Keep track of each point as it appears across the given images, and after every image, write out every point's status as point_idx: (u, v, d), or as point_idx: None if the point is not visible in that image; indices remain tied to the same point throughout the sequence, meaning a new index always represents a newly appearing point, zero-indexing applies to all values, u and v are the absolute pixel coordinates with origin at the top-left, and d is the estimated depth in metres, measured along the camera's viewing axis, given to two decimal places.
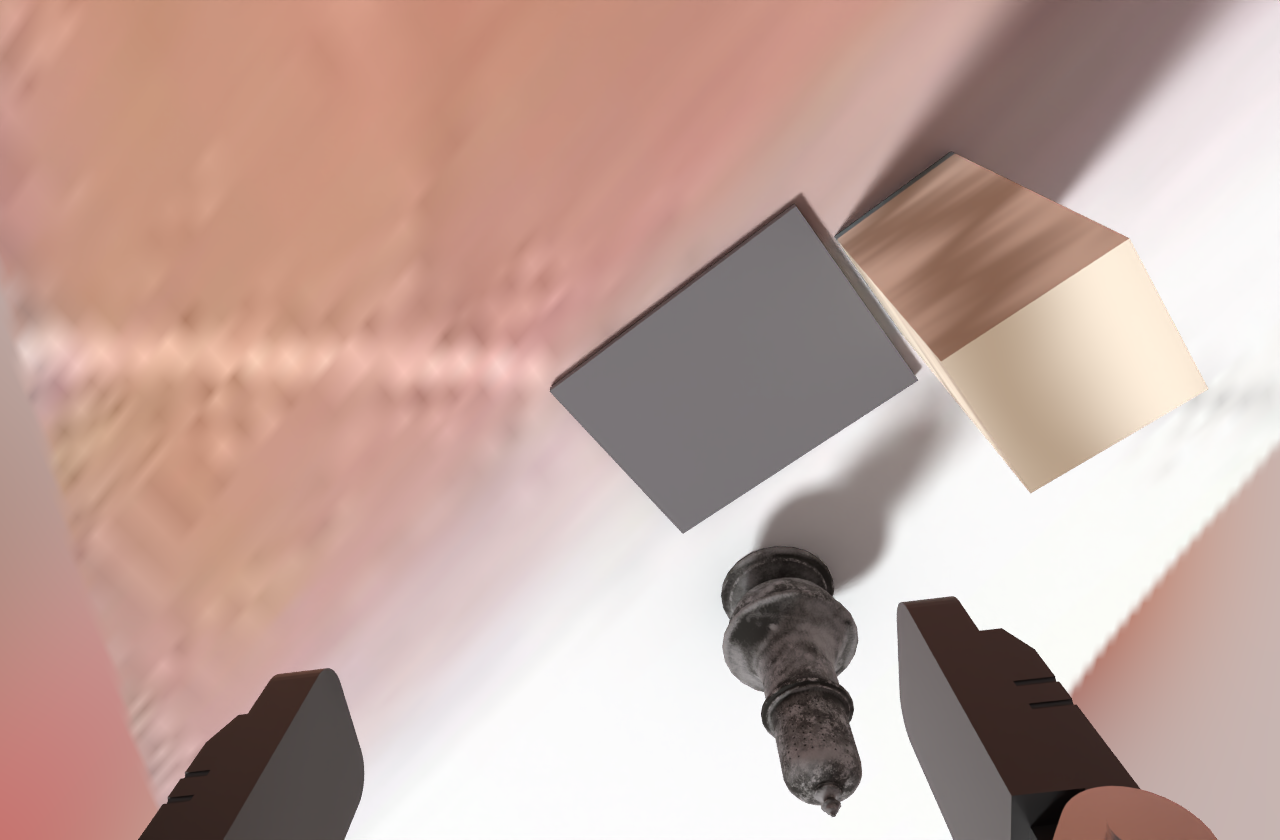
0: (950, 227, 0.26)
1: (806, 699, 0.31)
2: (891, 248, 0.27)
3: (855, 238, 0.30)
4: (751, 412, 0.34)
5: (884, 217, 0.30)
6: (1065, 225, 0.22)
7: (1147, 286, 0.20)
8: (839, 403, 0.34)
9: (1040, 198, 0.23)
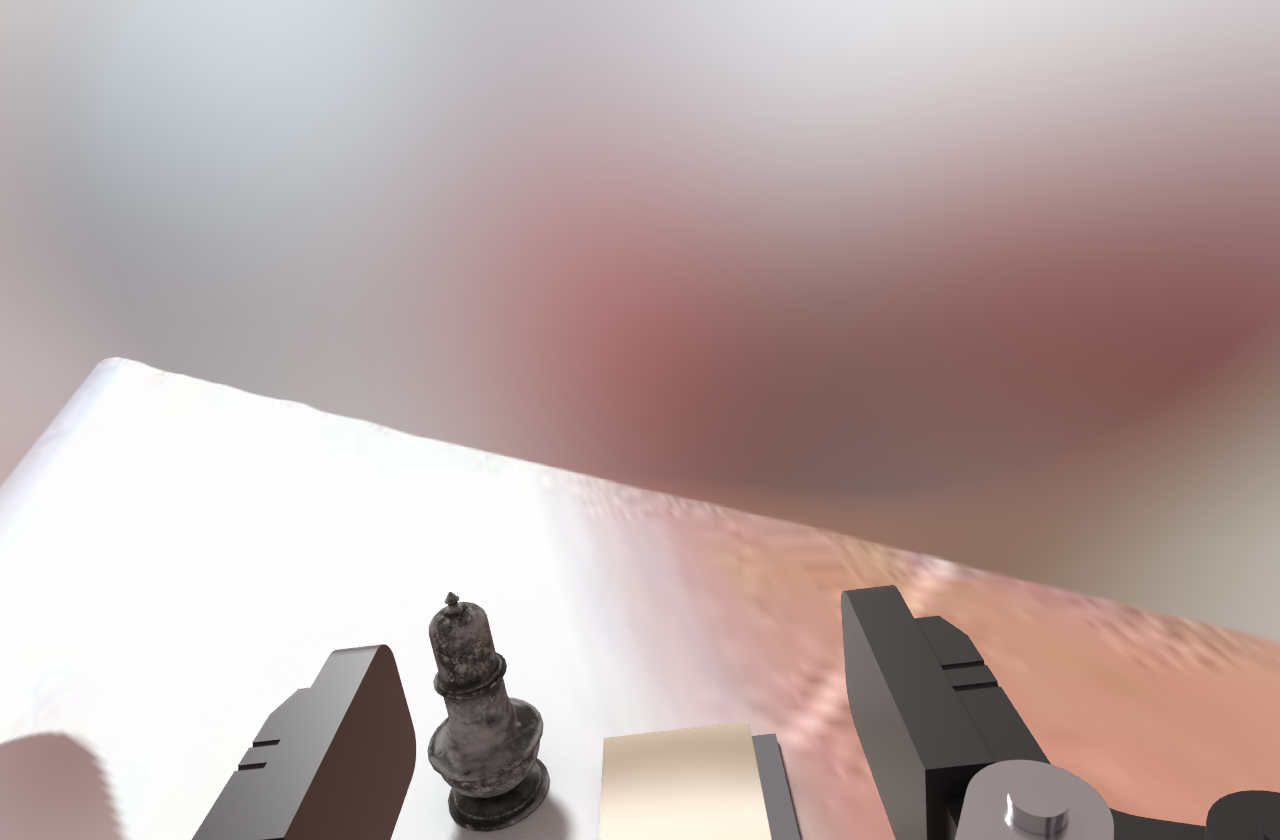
0: None
1: (490, 666, 0.40)
2: None
3: None
4: None
5: None
6: None
7: None
8: None
9: None
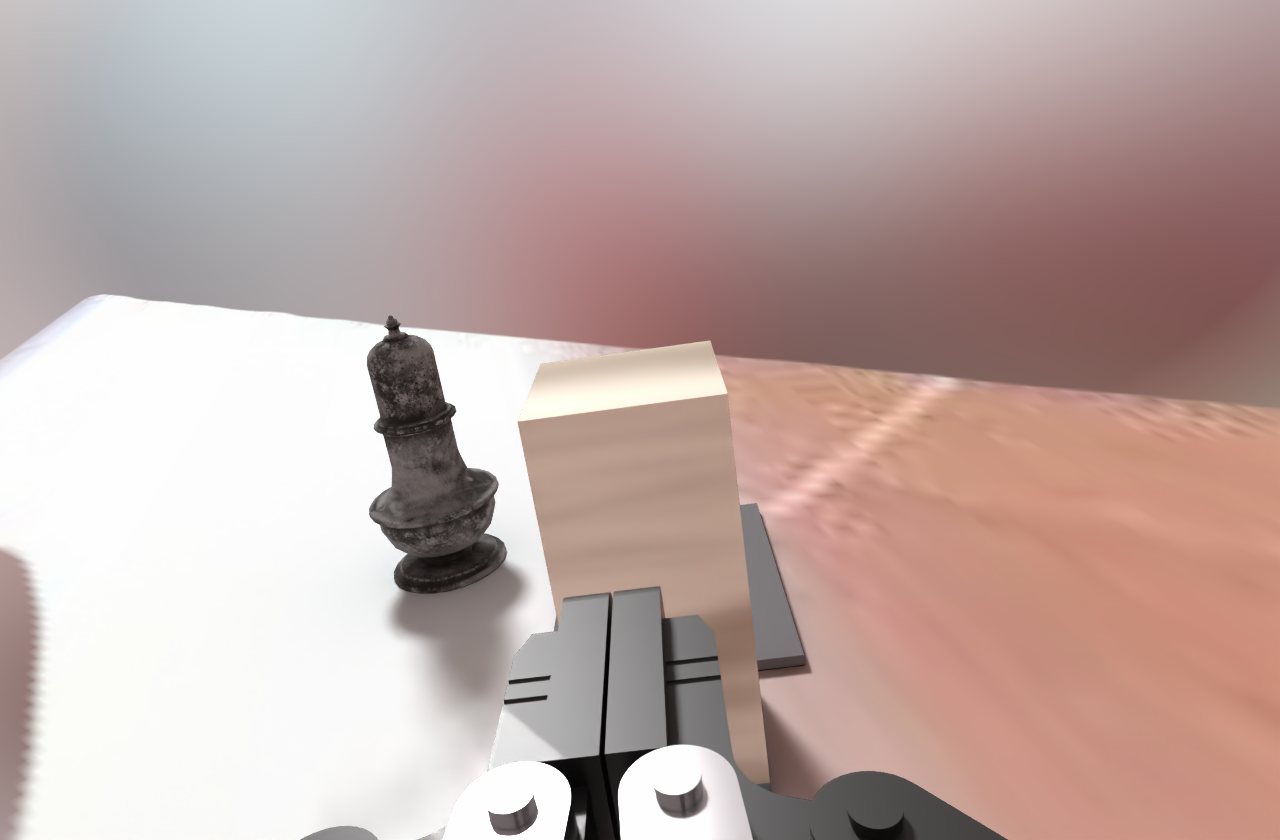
0: None
1: (436, 404, 0.36)
2: None
3: None
4: None
5: None
6: None
7: (669, 399, 0.20)
8: None
9: (745, 559, 0.21)
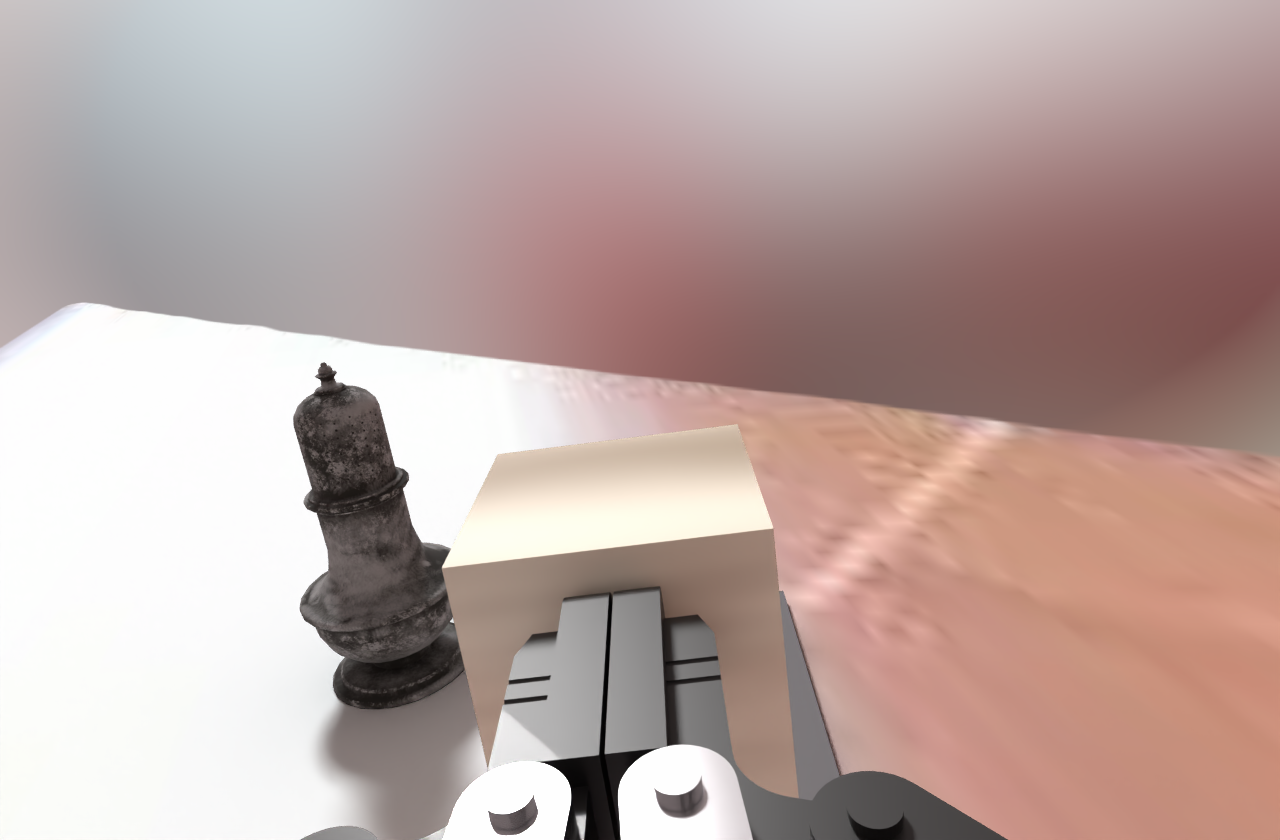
0: None
1: (381, 473, 0.29)
2: None
3: None
4: None
5: None
6: None
7: (680, 536, 0.12)
8: None
9: None
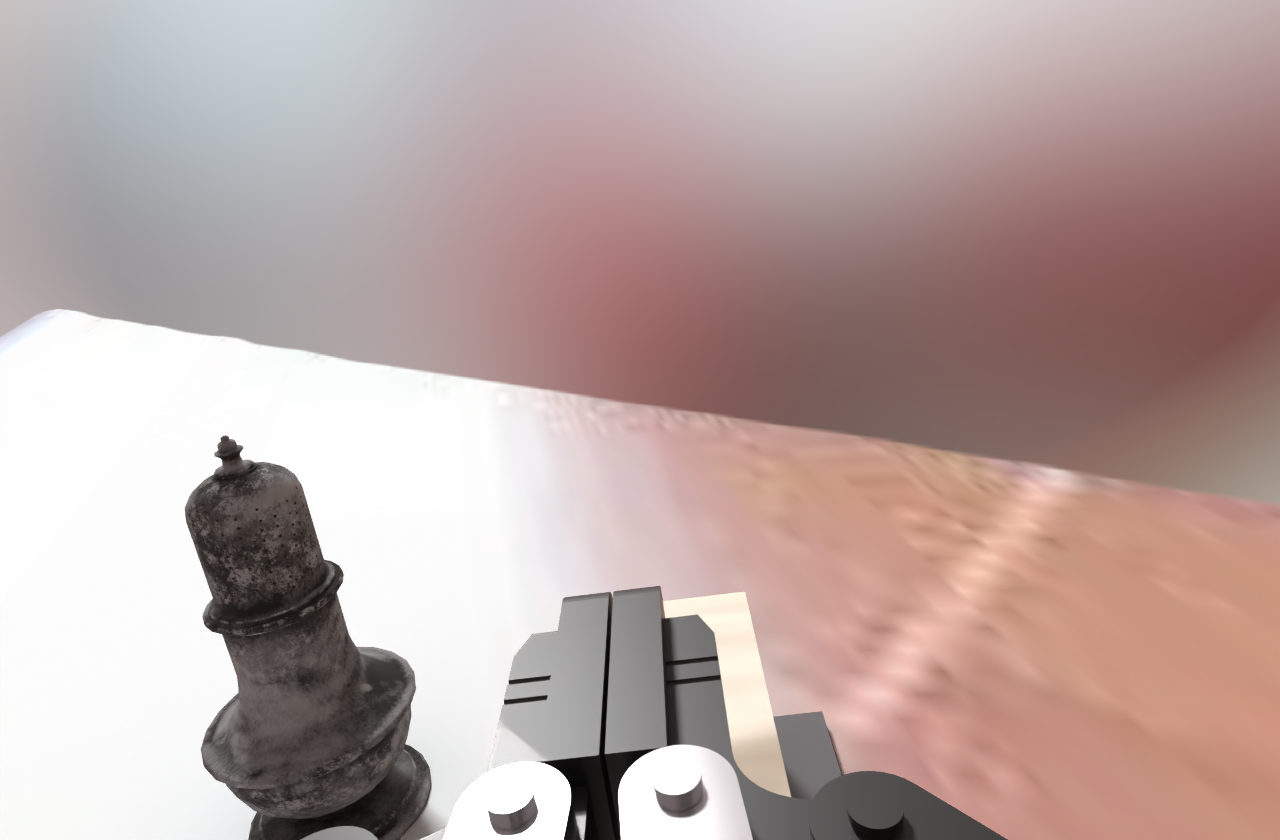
0: None
1: (304, 578, 0.22)
2: None
3: None
4: None
5: None
6: None
7: (696, 601, 0.23)
8: None
9: (768, 699, 0.19)
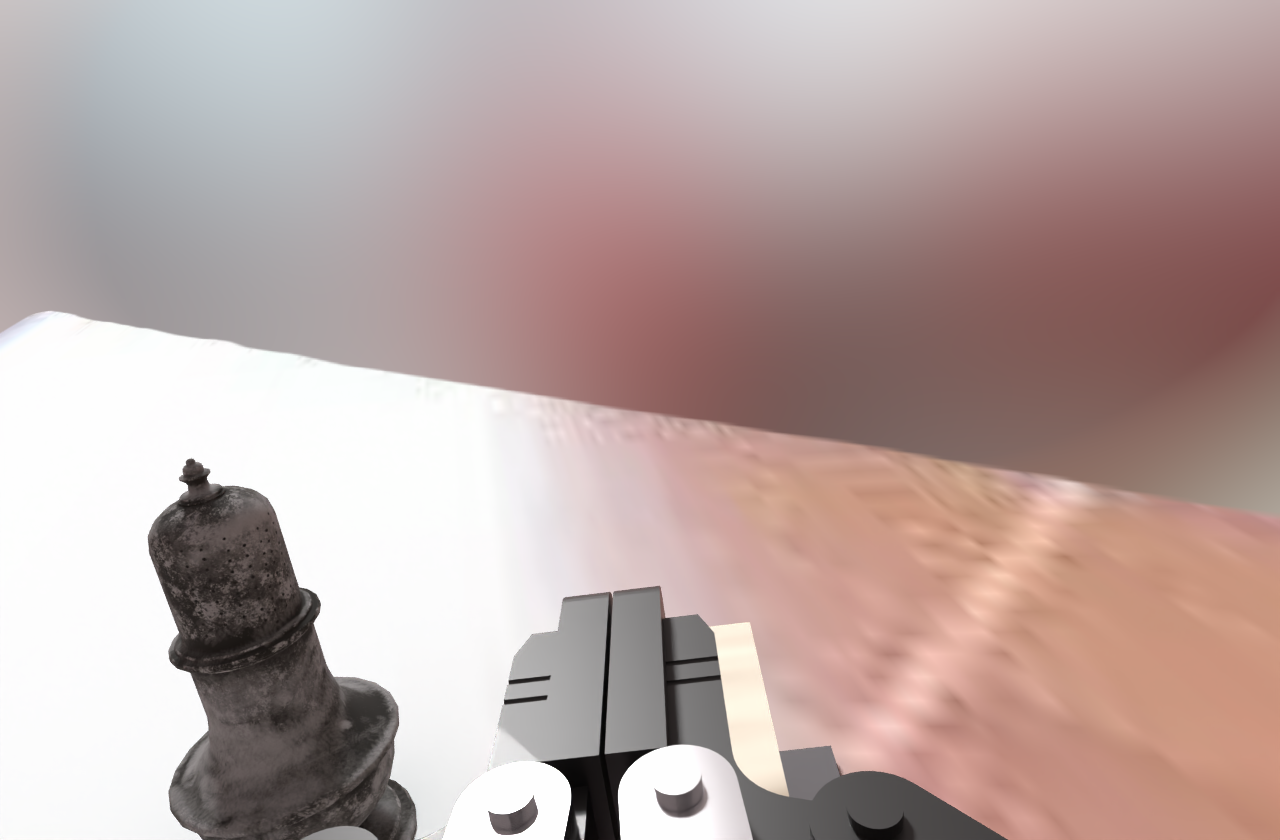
0: None
1: (276, 610, 0.20)
2: None
3: None
4: None
5: None
6: None
7: None
8: None
9: (777, 745, 0.18)
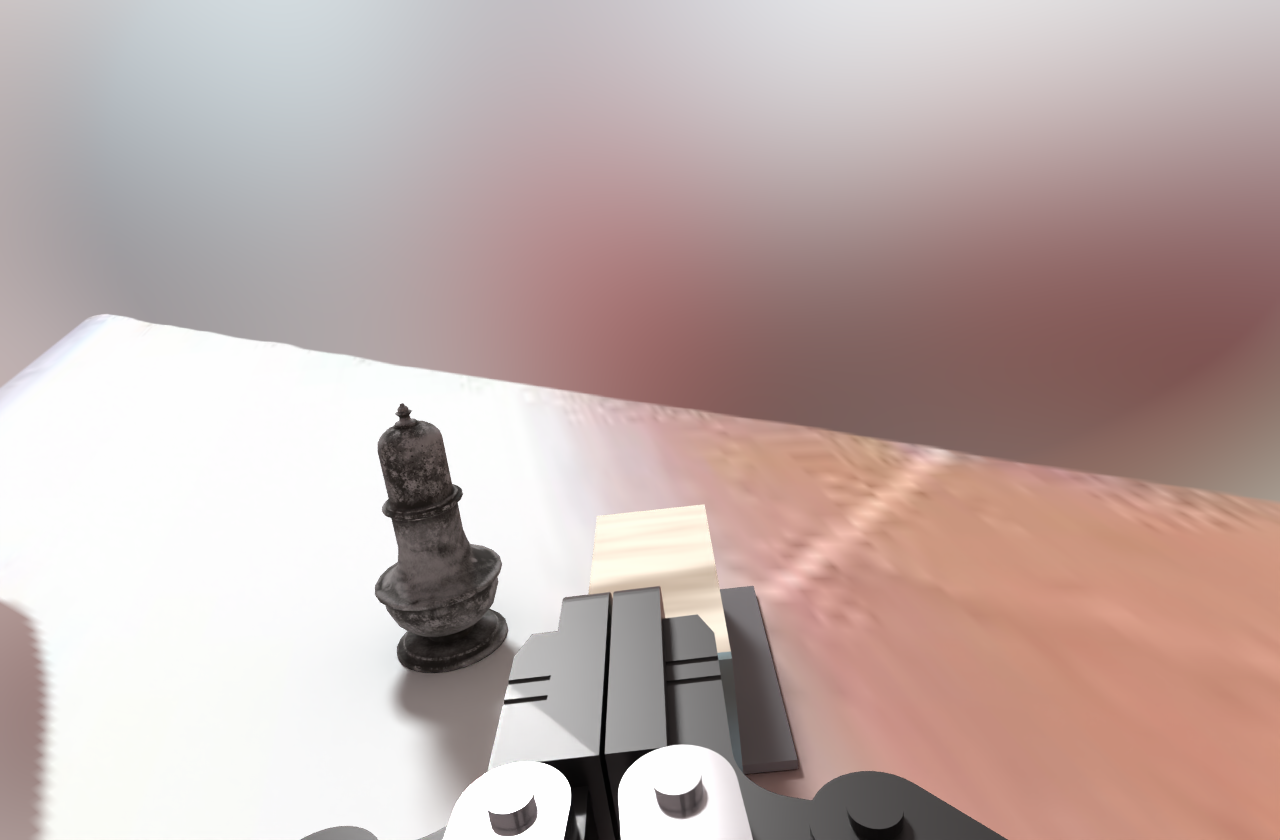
0: None
1: (443, 489, 0.37)
2: None
3: None
4: None
5: None
6: None
7: (675, 510, 0.38)
8: None
9: (712, 552, 0.34)
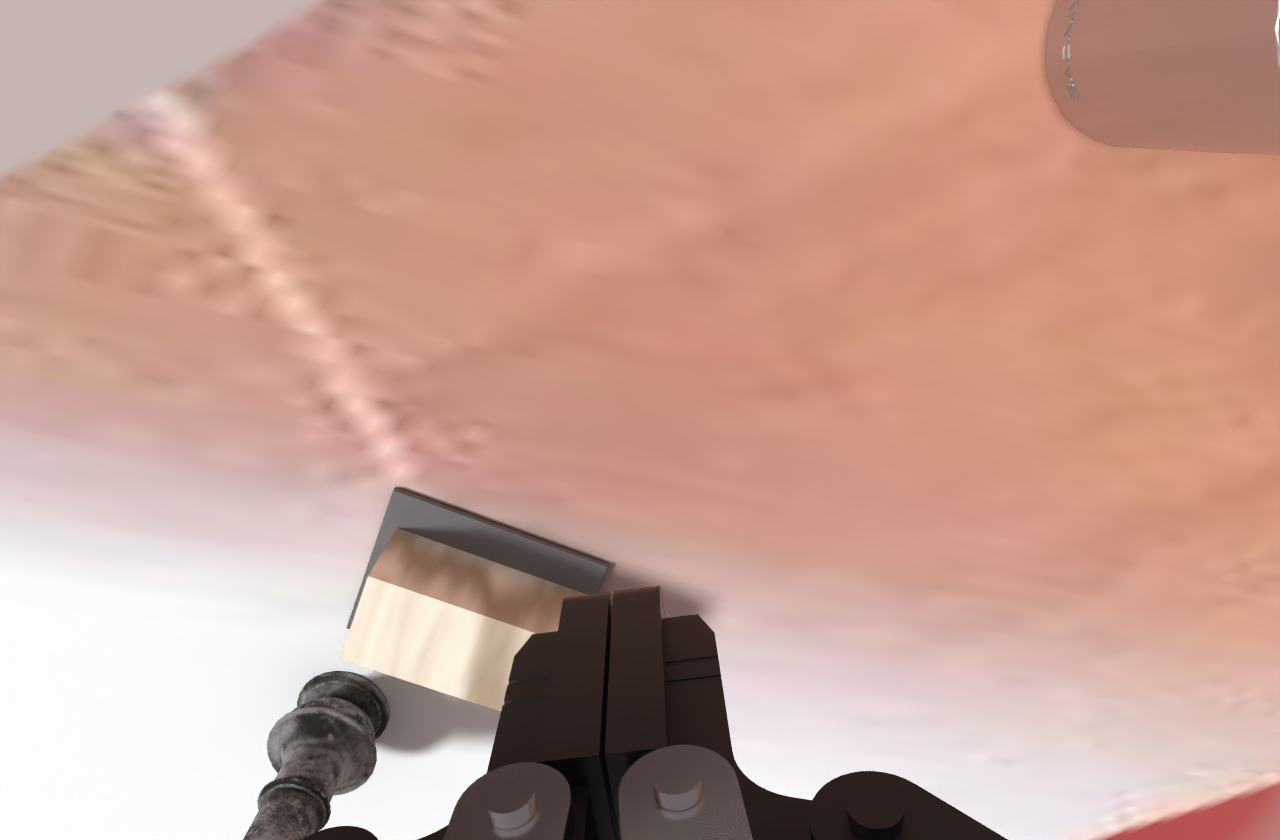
0: (503, 595, 0.42)
1: (307, 803, 0.40)
2: (533, 587, 0.44)
3: None
4: None
5: None
6: (417, 587, 0.40)
7: (360, 598, 0.40)
8: None
9: (459, 605, 0.40)
